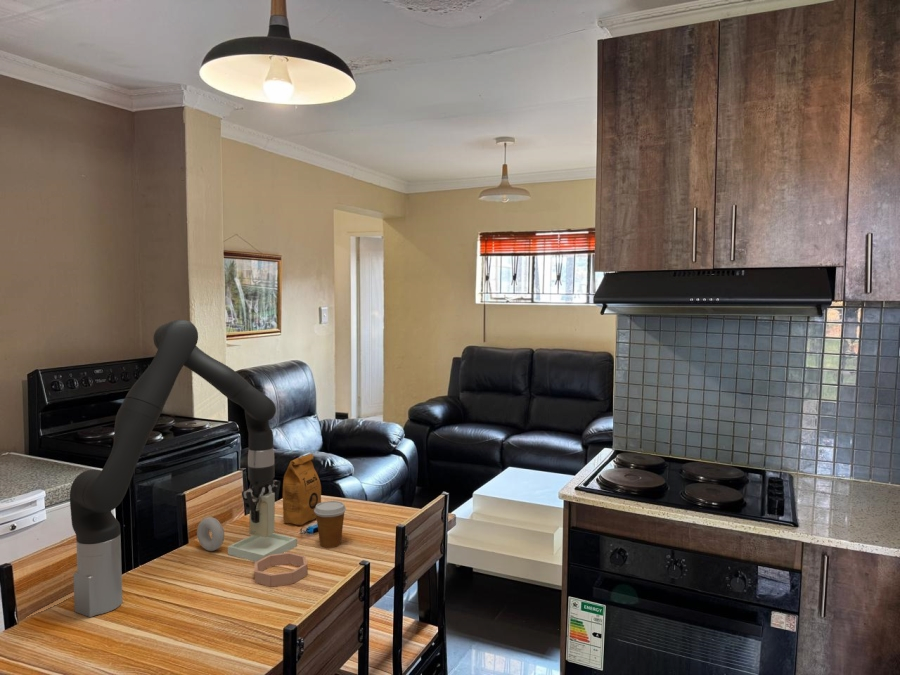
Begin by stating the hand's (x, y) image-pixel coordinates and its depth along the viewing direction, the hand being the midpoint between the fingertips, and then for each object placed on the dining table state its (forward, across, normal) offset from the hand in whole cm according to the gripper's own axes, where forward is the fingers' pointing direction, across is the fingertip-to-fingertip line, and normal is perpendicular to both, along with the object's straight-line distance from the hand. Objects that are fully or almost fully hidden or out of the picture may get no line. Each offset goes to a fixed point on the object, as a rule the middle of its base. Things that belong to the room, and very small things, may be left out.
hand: (262, 519), depth 179 cm
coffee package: (+10, +25, +6) cm, 27 cm away
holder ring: (+9, -10, -16) cm, 21 cm away
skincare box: (+5, 0, 0) cm, 5 cm away
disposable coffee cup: (+10, +13, -15) cm, 22 cm away
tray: (+9, 0, 0) cm, 9 cm away
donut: (+10, -7, +14) cm, 18 cm away
